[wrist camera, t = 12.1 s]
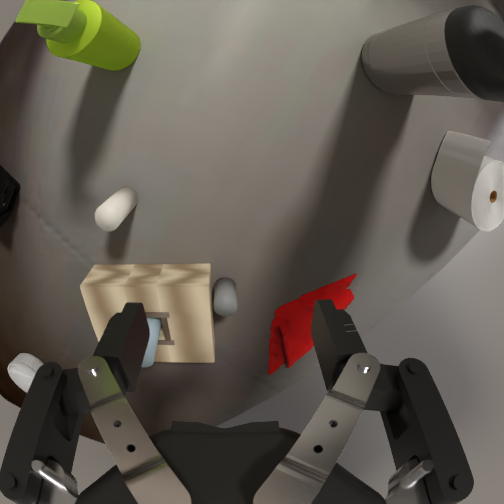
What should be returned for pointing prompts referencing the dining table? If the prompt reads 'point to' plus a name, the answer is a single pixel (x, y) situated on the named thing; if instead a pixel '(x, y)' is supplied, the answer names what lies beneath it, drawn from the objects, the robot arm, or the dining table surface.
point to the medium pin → (116, 209)
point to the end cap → (7, 194)
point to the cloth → (302, 323)
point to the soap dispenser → (82, 32)
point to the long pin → (152, 341)
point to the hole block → (158, 305)
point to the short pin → (225, 297)
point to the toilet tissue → (469, 181)
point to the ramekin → (24, 370)
